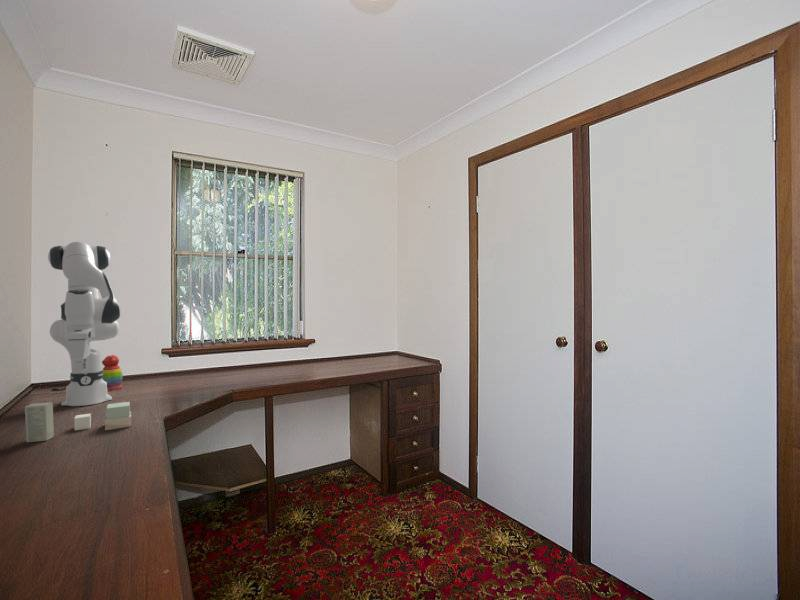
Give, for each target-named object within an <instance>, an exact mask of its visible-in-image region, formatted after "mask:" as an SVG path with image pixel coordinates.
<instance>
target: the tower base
mask: <svg viewBox="0 0 800 600" xmlns="http://www.w3.org/2000/svg"><path fill="white" fill-rule="evenodd" d="M129 427H132V411H130V416H128V417H121V418H113V419H107V414H106V415H105V418H104V431H108V430H115V429H116V430H117V429H122V428H129Z"/></svg>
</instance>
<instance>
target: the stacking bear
mask: <svg viewBox="0 0 800 600" xmlns="http://www.w3.org/2000/svg"><path fill="white" fill-rule="evenodd" d="M101 361H102V366H103V367H102V370H103V378H102V379H103V380H104V381H105V382H107V390H108V392H110V390H112V391H118V390H121V389H123V385H122V381H123V378H124V377H123V371H122V370H123V369H122V368H121V367H120V366H119V363H120V358H119V356H118V355H114V354H112V355H107V356H106V357H104V359H102V360H101ZM120 388H121V389H120ZM117 389H118V390H117Z"/></svg>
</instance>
